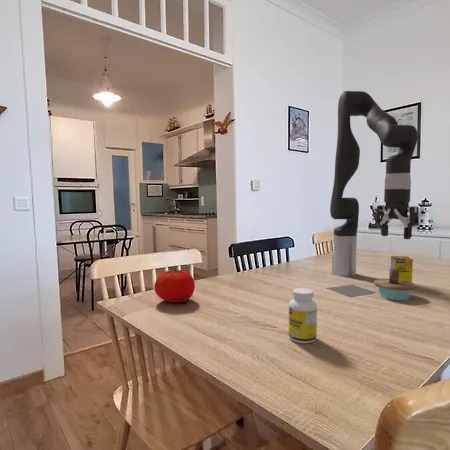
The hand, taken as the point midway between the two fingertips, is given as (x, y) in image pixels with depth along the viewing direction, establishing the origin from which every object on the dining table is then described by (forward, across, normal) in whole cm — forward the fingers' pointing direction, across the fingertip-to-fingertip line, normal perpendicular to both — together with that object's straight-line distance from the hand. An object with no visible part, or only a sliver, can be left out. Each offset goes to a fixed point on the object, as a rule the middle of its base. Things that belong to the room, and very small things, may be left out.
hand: (395, 237), depth 108 cm
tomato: (+20, -26, -68) cm, 76 cm away
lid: (+16, 0, 0) cm, 16 cm away
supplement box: (+20, -9, +14) cm, 26 cm away
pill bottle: (+20, +15, -47) cm, 53 cm away
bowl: (+20, 0, 0) cm, 20 cm away
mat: (+20, -11, -8) cm, 24 cm away
